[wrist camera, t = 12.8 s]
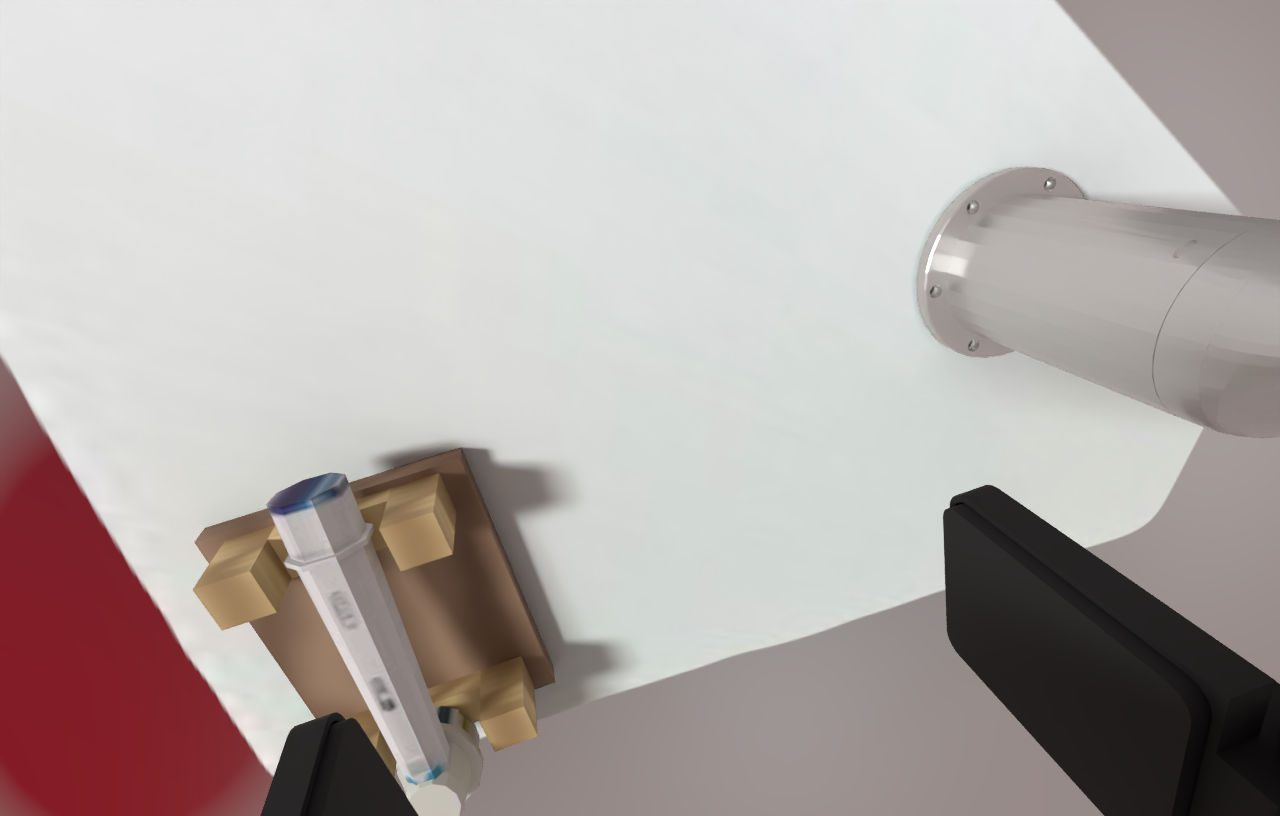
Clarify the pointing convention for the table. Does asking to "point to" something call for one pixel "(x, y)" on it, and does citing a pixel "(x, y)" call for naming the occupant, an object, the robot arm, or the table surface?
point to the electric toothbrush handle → (376, 642)
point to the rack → (397, 602)
